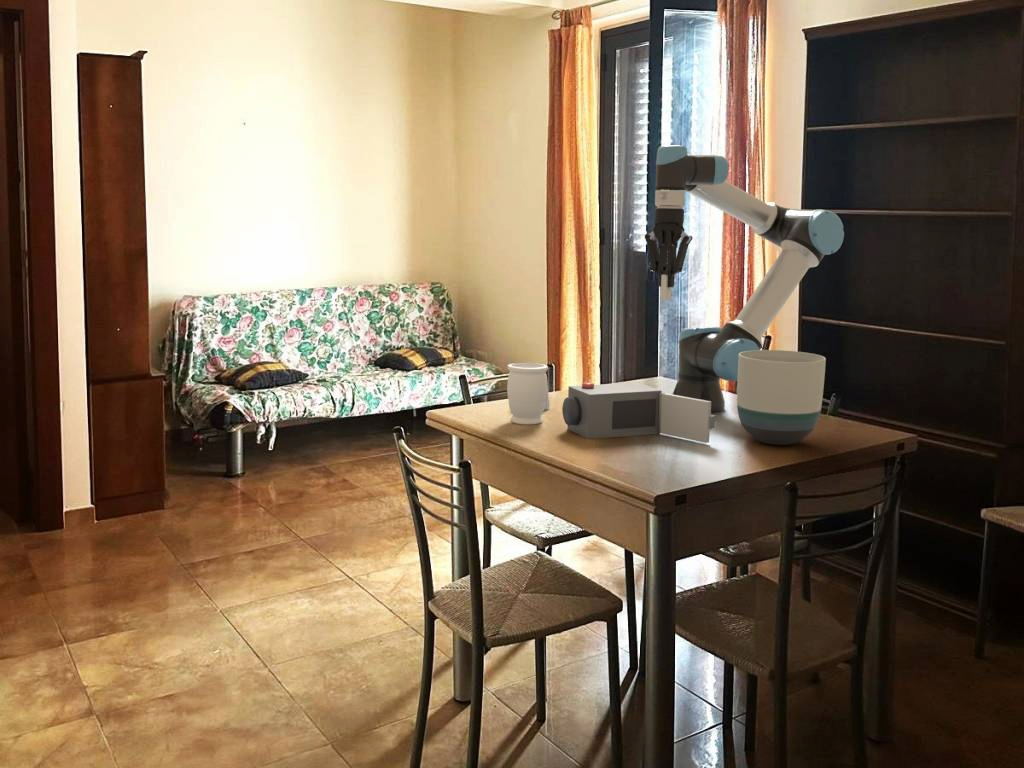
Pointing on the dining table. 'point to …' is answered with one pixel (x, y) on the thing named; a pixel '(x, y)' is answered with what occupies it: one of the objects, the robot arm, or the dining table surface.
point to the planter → (779, 394)
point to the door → (685, 417)
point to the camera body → (612, 410)
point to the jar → (527, 392)
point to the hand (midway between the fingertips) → (665, 299)
